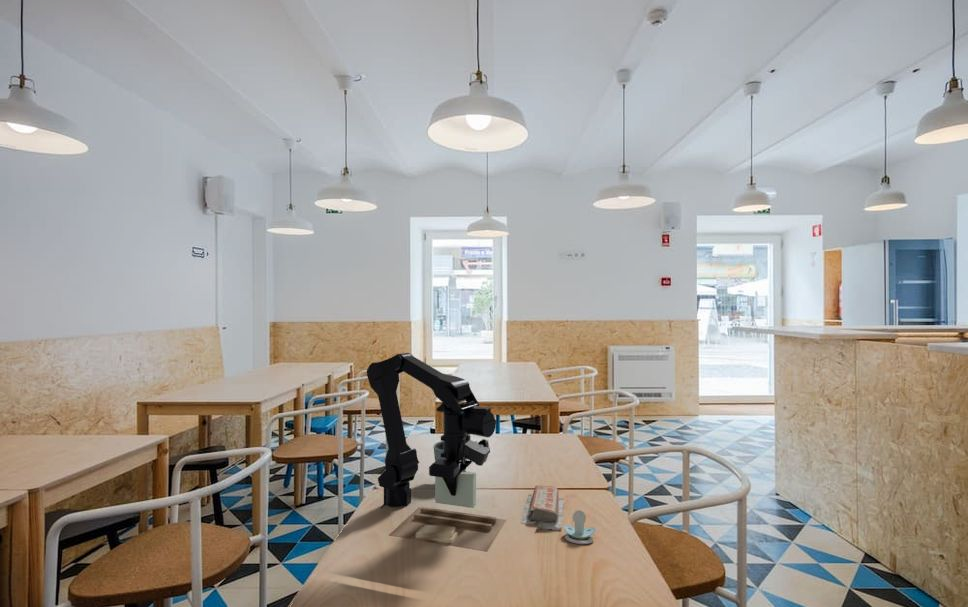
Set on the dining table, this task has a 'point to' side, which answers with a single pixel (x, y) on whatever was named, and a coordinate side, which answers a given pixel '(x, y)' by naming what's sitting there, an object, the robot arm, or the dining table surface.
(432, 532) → the offcut upper
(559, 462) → the dining table surface
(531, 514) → the packaged product
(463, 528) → the rack
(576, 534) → the pacifier
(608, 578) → the dining table surface
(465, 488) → the green board
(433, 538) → the offcut lower
